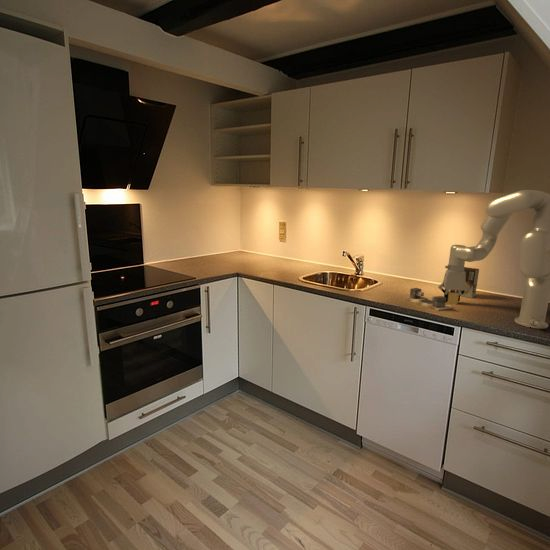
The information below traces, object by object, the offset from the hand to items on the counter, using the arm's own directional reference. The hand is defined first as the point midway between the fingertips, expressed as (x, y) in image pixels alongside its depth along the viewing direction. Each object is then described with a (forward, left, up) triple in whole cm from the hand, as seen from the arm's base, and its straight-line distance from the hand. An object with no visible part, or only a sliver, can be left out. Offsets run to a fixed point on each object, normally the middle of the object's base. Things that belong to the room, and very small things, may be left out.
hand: (451, 301), depth 196 cm
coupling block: (0, 0, -1) cm, 1 cm away
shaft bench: (-6, +13, -1) cm, 14 cm away
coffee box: (+18, -12, -1) cm, 22 cm away
